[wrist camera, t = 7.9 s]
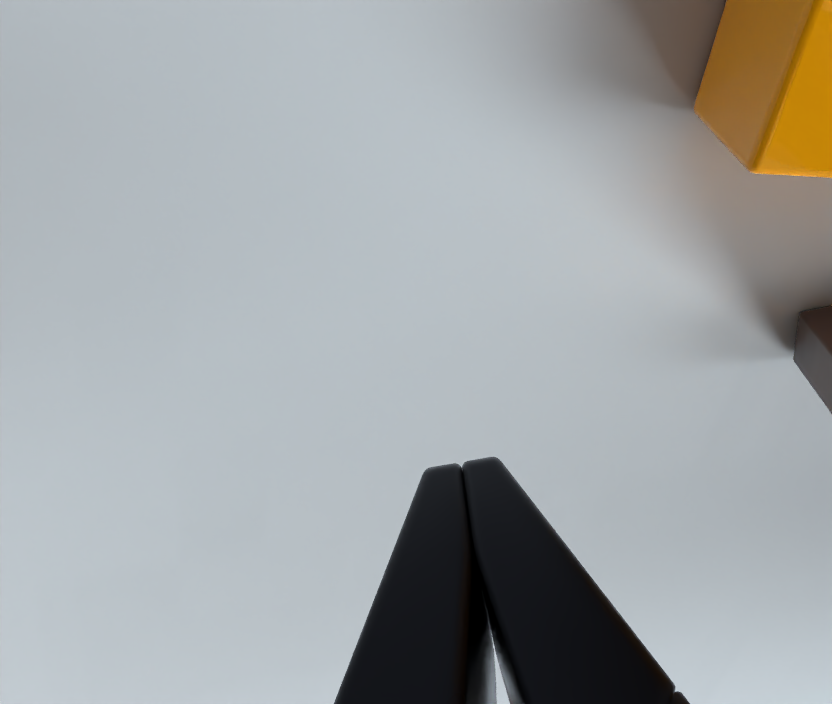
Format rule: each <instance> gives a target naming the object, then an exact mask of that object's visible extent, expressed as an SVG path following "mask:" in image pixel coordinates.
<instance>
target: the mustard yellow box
mask: <svg viewBox="0 0 832 704" xmlns="http://www.w3.org/2000/svg"><path fill="white" fill-rule="evenodd" d="M694 113H695V114H696V115H697V117H698V118H699V119H700V120H701V121H702V122H703V123H704V124H705V125H706V126H707V127H708V128H709V129H710V130H711V132H712V133H713V134H714V135H715V136H716V137H717V138H718V139H719V140H720V141H721V142H722V143H723V144H724V145H725V147H726V148H727V149H728V150H729V151H730V152H731V153H732V154H733V155H734V156H735V157H736V158H737V159H738V160H739V161H740V163H741V164H742V165H743V166H744V167H745V168H746V169H747V170H748V171H749V172H751V173H754V174H772V175H789V176H807V177H825V178H832V0H727V1H726V4H725V7H724V10H723V14H722V17H721V20H720V23H719V27H718V30H717V33H716V36H715V40H714V43H713V46H712V49H711V53H710V56H709V59H708V62H707V66H706V69H705V72H704V75H703V79H702V82H701V85H700V88H699V91H698V95H697V98H696V101H695V104H694Z"/></svg>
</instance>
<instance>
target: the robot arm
mask: <svg viewBox="0 0 832 704" xmlns="http://www.w3.org/2000/svg"><path fill="white" fill-rule="evenodd" d="M491 632H492V634H491ZM492 637H493V642H494V646H495V651H496V655H497V659H498V662H499V666H500V670H501V674H502V677H503V680H504V684H505V687H506V691H507V694H508V697H509V701H510V704H690V703H689V702H688V701H687V699H686V698H685V697H684V696H683V694H682V693H681V692H678V691H677V692H675V685H674V683H673V682H672V681H671V679H670V678H669V677H668V676H667V674H666V673H665V672H664V670H663V669H662V668H661V667H660V665H659V664H658V663H657V661H656V660H655V659H654V658H653V656H652V655H651V654H650V652H649V651H648V650H647V649H646V647H645V646H644V645H643V643H642V642H641V641H640V640H639V638H638V637H637V636H636V634H635V633H634V632H633V631H632V629H631V628H630V627H629V625H628V624H627V623H626V622H625V620H624V619H623V618H622V616H621V615H620V614H619V612H618V611H617V610H616V609H615V607H614V606H613V605H612V603H611V602H610V601H609V600H608V598H607V597H606V596H605V594H604V593H603V592H602V591H601V589H600V588H599V587H598V585H597V584H596V583H595V582H594V580H593V579H592V578H591V576H590V575H589V574H588V573H587V571H586V570H585V569H584V567H583V566H582V565H581V564H580V562H579V561H578V560H577V558H576V557H575V556H574V555H573V553H572V552H571V551H570V549H569V548H568V547H567V546H566V544H565V543H564V542H563V540H562V539H561V538H560V537H559V535H558V534H557V533H556V531H555V530H554V529H553V527H552V526H551V525H550V524H549V522H548V521H547V520H546V518H545V517H544V516H543V515H542V513H541V512H540V511H539V509H538V508H537V507H536V506H535V504H534V503H533V502H532V500H531V499H530V498H529V497H528V495H527V494H526V493H525V491H524V490H523V489H522V488H521V486H520V485H519V484H518V482H517V481H516V480H515V479H514V477H513V476H512V475H511V473H510V472H509V471H508V470H507V468H506V467H505V466H504V464H503V463H502V462H501V461H500V460H499V459H498V458H496V457H488V458H483V459H477V460H471V461H467V462H465V463H464V464H463V466H462V468H461V466H460V465H459V464H456V463H454V464H448V465H442V466H436V467H431V468H428V469H427V470H425V472H424V473H423V475H422V478H421V480H420V483H419V485H418V488H417V490H416V493H415V496H414V498H413V501H412V503H411V506H410V509H409V511H408V514H407V516H406V519H405V521H404V524H403V527H402V529H401V532H400V534H399V537H398V539H397V542H396V545H395V547H394V550H393V552H392V555H391V558H390V560H389V563H388V565H387V568H386V570H385V573H384V576H383V578H382V581H381V583H380V586H379V589H378V591H377V594H376V596H375V599H374V601H373V604H372V607H371V609H370V612H369V614H368V617H367V620H366V622H365V625H364V627H363V630H362V632H361V635H360V638H359V640H358V643H357V645H356V648H355V650H354V653H353V656H352V658H351V661H350V663H349V666H348V669H347V671H346V674H345V676H344V679H343V681H342V684H341V687H340V689H339V692H338V694H337V697H336V700H335V702H334V704H497V700H496V677H495V661H494V649H493V642H492Z"/></svg>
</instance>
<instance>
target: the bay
mask: <svg viewBox="0 0 832 704" xmlns="http://www.w3.org/2000/svg"><path fill="white" fill-rule="evenodd" d="M793 360H794V362H795V363H796V365H797V366H798V368H799V369H800V370H801V372H802V373H803V374H804V376H805V377H806V379H807V380H808V381H809V383H810V384H811V386H812V387H813V388H814V390H815V391H816V393H817V394H818V395H819V397H820V398H821V399H822V401H823V402H824V404H825V405H826V406H827V408H828V409H829V411H830V412H831V413H832V306H828V307H823V308H818V309H812V310H807V311H802V312H800V314H799V320H798V327H797V334H796V342H795V349H794V356H793Z"/></svg>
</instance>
